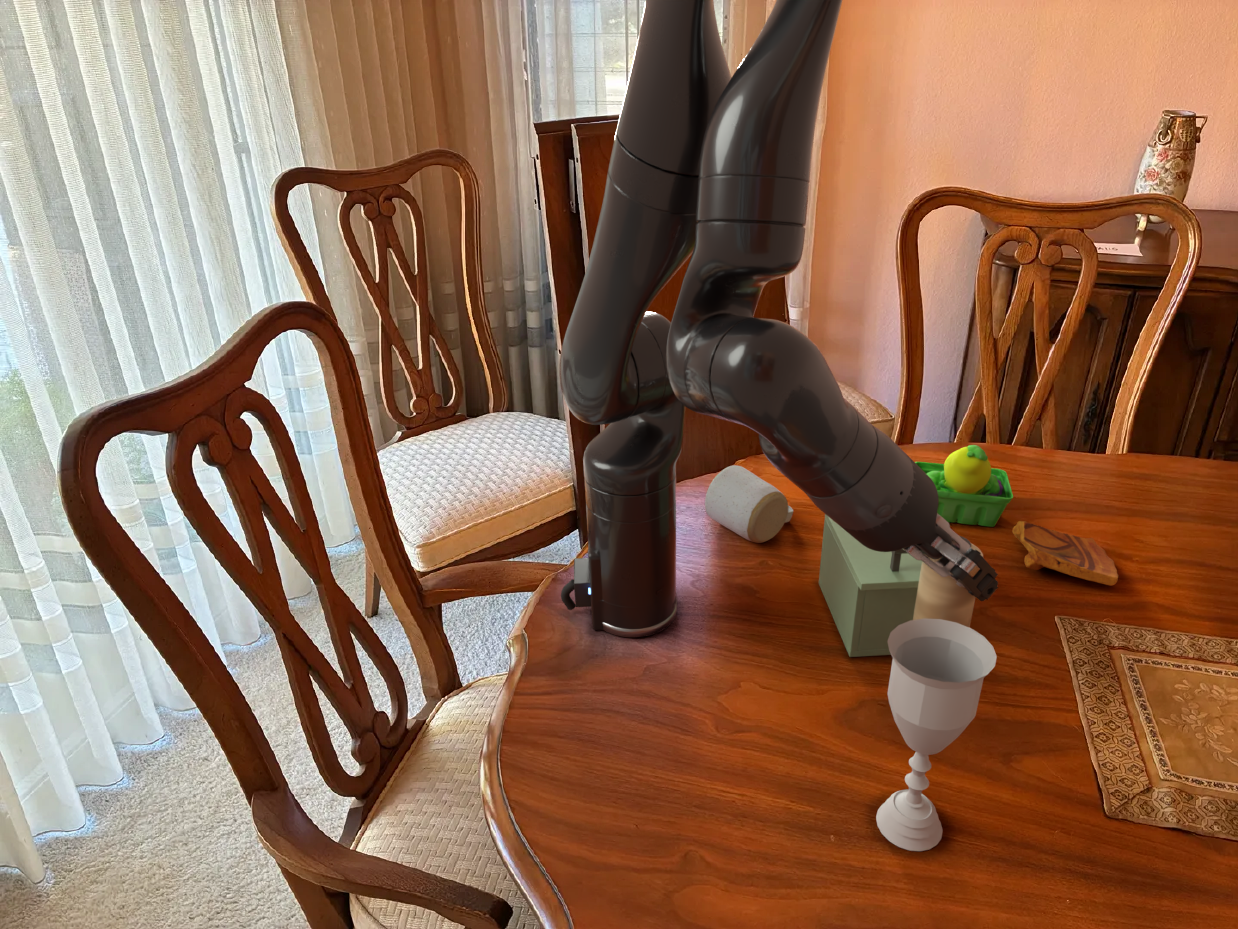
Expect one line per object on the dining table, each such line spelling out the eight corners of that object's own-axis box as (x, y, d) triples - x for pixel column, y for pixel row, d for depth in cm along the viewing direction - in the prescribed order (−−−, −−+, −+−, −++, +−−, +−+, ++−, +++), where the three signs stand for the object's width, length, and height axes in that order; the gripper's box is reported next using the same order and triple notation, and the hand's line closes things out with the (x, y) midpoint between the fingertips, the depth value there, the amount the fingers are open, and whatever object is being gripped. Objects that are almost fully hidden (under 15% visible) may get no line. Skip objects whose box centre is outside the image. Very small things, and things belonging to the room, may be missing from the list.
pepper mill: (922, 649, 75) (938, 559, 71) (904, 615, 80) (917, 528, 75) (976, 646, 76) (995, 556, 71) (955, 612, 80) (971, 526, 75)
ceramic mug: (749, 555, 103) (753, 500, 99) (702, 527, 108) (704, 474, 105) (808, 525, 108) (813, 472, 105) (760, 500, 114) (764, 449, 111)
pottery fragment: (1011, 517, 103) (1104, 512, 100) (1011, 549, 105) (1102, 544, 102) (1029, 567, 94) (1131, 562, 91) (1028, 600, 96) (1128, 597, 93)
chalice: (939, 787, 72) (973, 616, 63) (971, 858, 66) (1014, 679, 57) (852, 792, 72) (875, 620, 63) (876, 863, 66) (905, 685, 57)
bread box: (963, 651, 87) (977, 580, 82) (849, 657, 86) (858, 586, 82) (919, 578, 98) (929, 512, 94) (818, 583, 97) (824, 517, 93)
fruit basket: (998, 502, 112) (1015, 424, 106) (1008, 539, 104) (1026, 457, 99) (907, 494, 114) (918, 417, 109) (910, 529, 107) (922, 448, 101)
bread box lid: (981, 584, 82) (989, 545, 80) (860, 590, 81) (865, 552, 79) (930, 511, 94) (935, 476, 91) (824, 517, 93) (827, 481, 91)
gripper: (965, 488, 60) (1059, 585, 69) (842, 412, 72) (937, 505, 81) (894, 569, 61) (997, 655, 70) (784, 482, 72) (885, 565, 82)
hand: (965, 574), depth 76 cm, fingers closed on pepper mill, 5 cm apart
